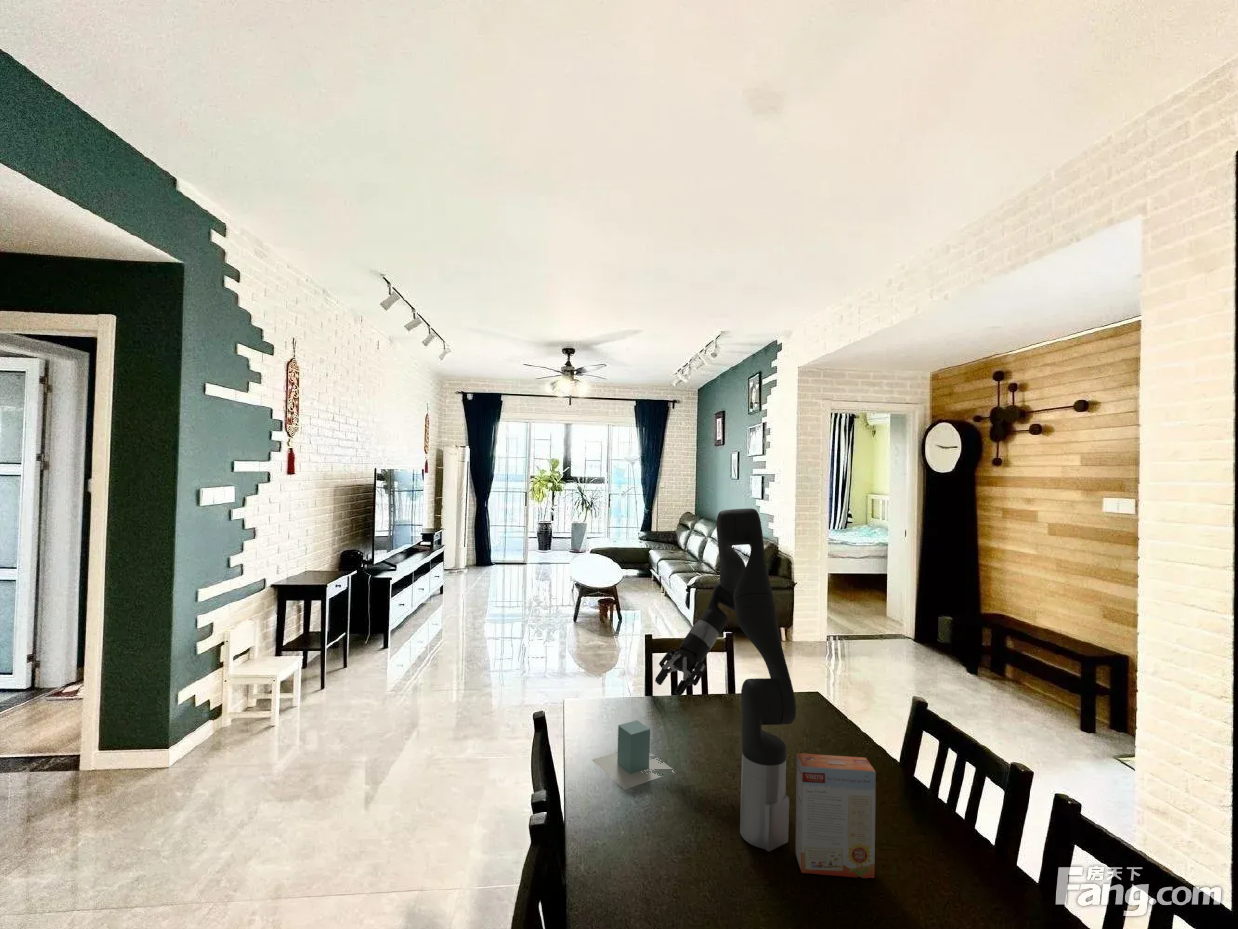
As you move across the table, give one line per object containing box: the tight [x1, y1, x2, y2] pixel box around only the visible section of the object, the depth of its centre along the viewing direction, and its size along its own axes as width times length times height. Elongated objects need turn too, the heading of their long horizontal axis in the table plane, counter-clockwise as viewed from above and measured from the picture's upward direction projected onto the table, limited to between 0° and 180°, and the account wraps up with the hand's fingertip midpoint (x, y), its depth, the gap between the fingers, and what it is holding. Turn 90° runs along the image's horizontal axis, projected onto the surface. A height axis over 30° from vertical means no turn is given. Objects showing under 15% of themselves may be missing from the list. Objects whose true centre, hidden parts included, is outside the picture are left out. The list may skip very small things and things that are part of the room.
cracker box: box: [795, 752, 877, 879], centre depth 111 cm, size 14×6×21 cm, turn 84°
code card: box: [591, 751, 675, 790], centre depth 146 cm, size 16×16×1 cm
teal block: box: [617, 719, 651, 774], centre depth 146 cm, size 6×6×10 cm
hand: (666, 688), depth 152 cm, fingers open, 8 cm apart
